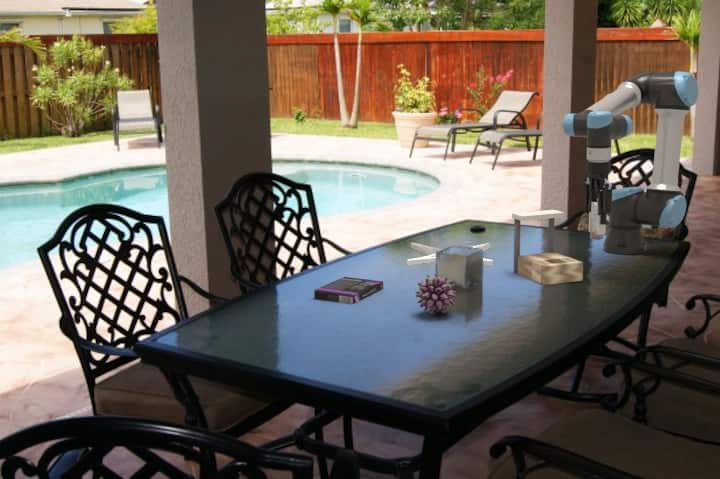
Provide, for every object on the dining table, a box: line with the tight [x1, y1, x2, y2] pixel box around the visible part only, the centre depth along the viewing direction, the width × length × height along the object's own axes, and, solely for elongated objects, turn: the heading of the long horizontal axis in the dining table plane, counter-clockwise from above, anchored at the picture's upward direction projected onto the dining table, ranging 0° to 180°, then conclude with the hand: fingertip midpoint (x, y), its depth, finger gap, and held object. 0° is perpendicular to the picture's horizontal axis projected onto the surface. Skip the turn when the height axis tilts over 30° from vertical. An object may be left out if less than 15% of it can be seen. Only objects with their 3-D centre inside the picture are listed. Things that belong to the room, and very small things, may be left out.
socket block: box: [517, 251, 584, 286], centre depth 303 cm, size 14×17×6 cm
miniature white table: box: [511, 209, 565, 274], centre depth 309 cm, size 16×6×20 cm, turn 110°
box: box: [313, 276, 384, 305], centre depth 288 cm, size 14×4×20 cm
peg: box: [590, 200, 604, 240], centre depth 299 cm, size 4×4×12 cm
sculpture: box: [406, 242, 494, 267], centre depth 337 cm, size 30×3×30 cm
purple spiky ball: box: [415, 272, 458, 315], centre depth 263 cm, size 12×12×12 cm
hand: (597, 232), depth 300 cm, fingers closed on peg, 4 cm apart
